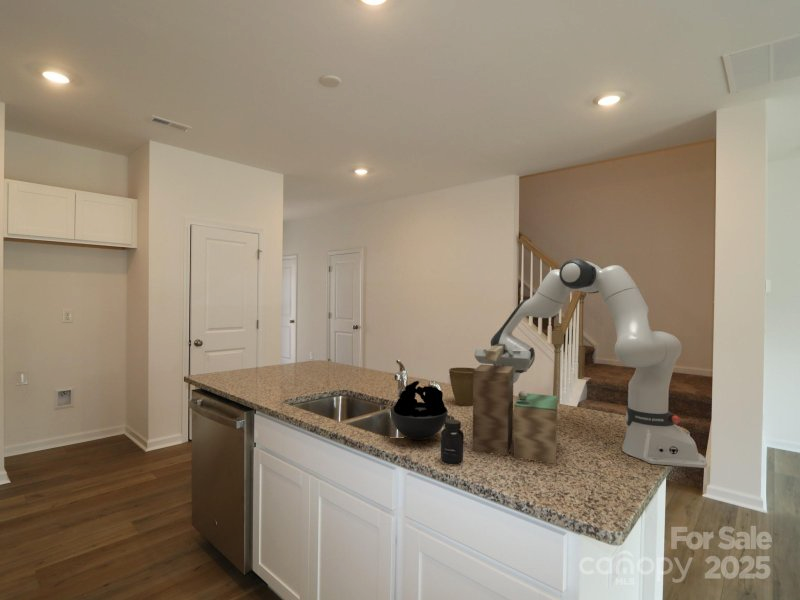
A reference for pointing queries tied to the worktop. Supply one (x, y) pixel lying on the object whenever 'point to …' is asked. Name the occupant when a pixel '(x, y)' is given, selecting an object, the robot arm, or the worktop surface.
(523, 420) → the green topped wooden block
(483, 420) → the walnut stand
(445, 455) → the supplement bottle
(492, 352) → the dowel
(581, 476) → the worktop surface
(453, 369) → the plant pot
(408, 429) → the bowl of black rocks
